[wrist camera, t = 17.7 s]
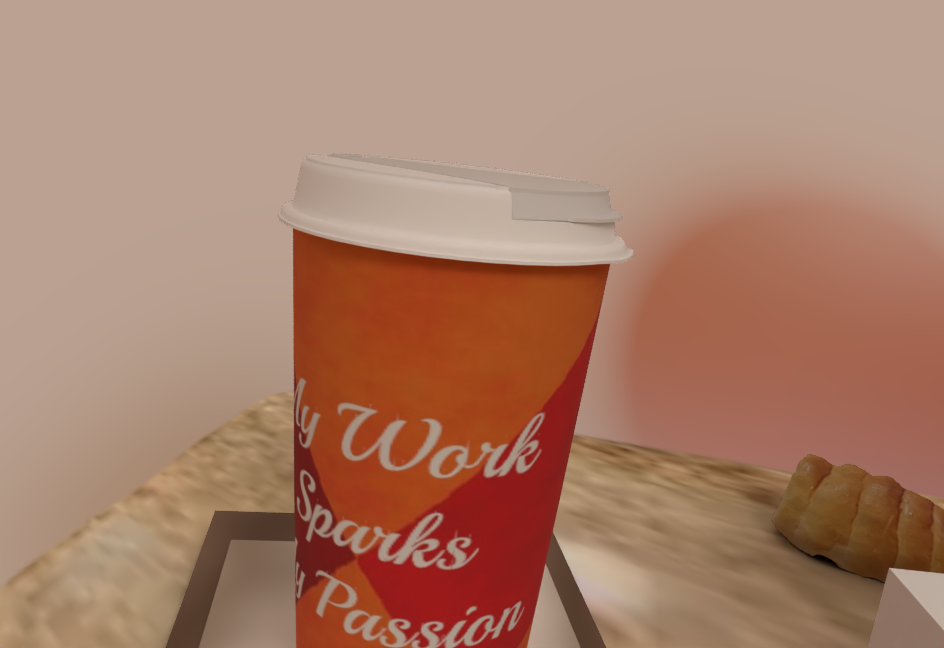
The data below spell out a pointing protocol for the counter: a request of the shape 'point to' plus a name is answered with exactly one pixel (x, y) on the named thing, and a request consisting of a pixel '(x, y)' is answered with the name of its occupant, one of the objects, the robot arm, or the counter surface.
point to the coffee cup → (435, 392)
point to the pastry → (860, 520)
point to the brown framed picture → (273, 591)
